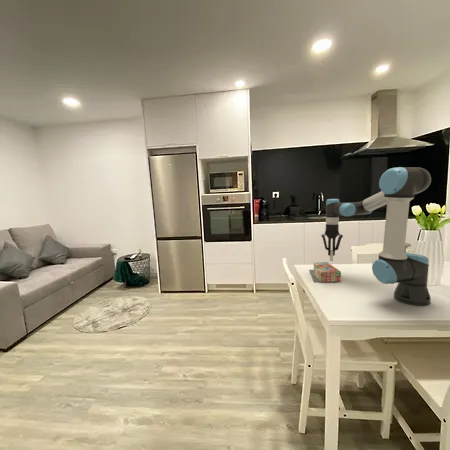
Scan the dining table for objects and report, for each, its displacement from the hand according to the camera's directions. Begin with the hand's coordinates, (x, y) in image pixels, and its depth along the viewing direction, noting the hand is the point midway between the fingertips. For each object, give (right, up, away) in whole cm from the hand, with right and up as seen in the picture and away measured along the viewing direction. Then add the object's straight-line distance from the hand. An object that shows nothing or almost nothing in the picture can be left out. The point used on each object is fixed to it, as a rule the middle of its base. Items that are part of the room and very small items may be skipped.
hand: (331, 260), depth 172 cm
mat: (-5, -10, +2) cm, 12 cm away
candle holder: (+45, -10, 0) cm, 46 cm away
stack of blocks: (+2, -7, 0) cm, 7 cm away
